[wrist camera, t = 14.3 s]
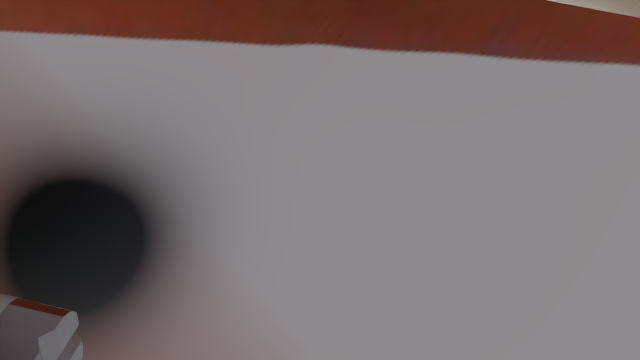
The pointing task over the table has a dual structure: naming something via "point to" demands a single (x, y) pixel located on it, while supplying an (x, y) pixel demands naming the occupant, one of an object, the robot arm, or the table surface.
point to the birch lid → (608, 5)
